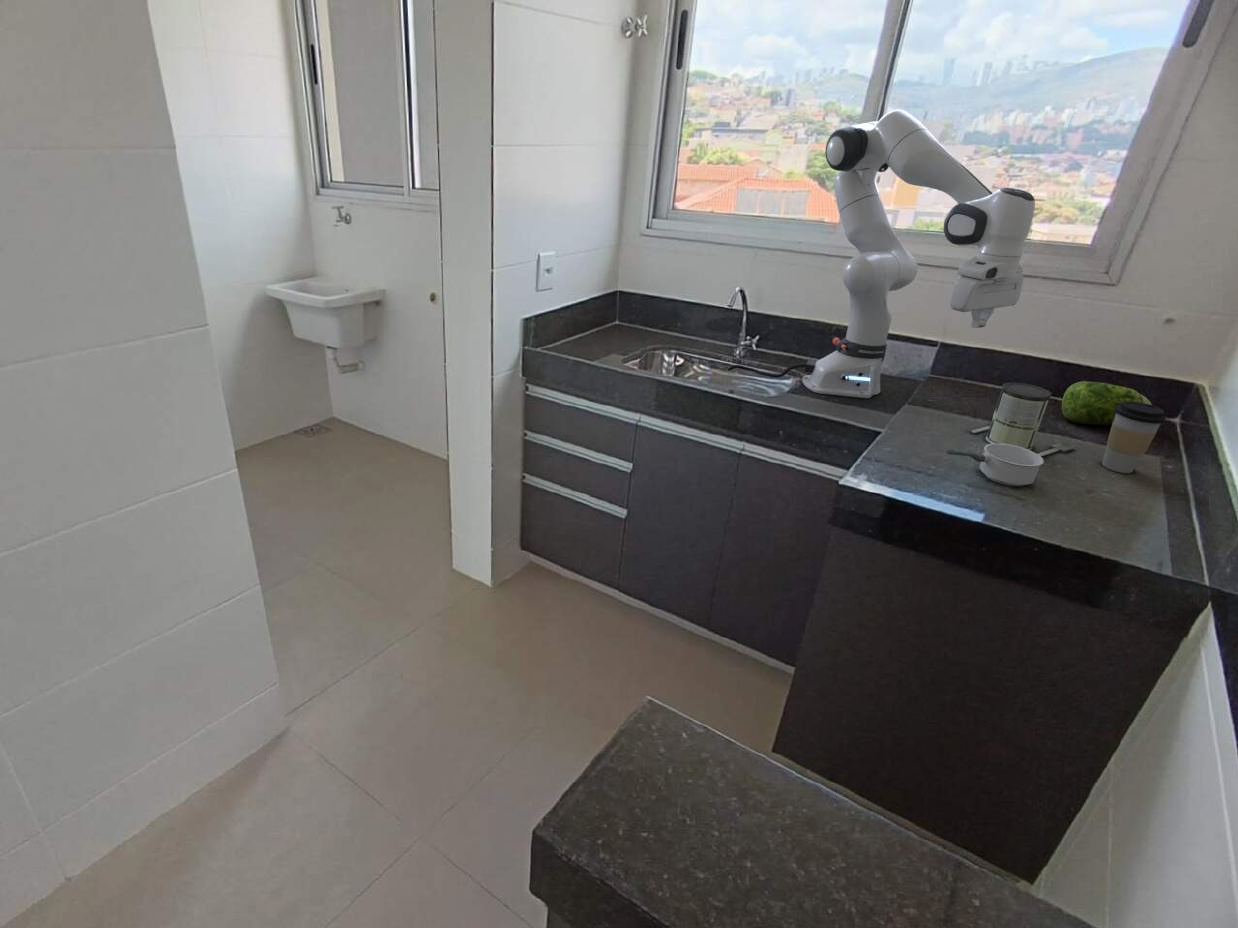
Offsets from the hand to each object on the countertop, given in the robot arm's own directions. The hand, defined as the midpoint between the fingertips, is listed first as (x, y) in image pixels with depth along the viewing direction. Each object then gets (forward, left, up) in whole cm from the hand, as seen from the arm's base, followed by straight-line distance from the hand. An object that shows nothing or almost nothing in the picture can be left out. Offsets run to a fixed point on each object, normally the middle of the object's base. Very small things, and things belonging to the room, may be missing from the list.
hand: (977, 327), depth 155 cm
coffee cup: (+32, -18, -27) cm, 45 cm away
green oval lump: (+48, +10, -27) cm, 56 cm away
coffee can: (+13, -6, -27) cm, 31 cm away
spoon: (+21, -10, -27) cm, 36 cm away
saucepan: (-3, -25, -27) cm, 37 cm away
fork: (+13, +4, -27) cm, 30 cm away
